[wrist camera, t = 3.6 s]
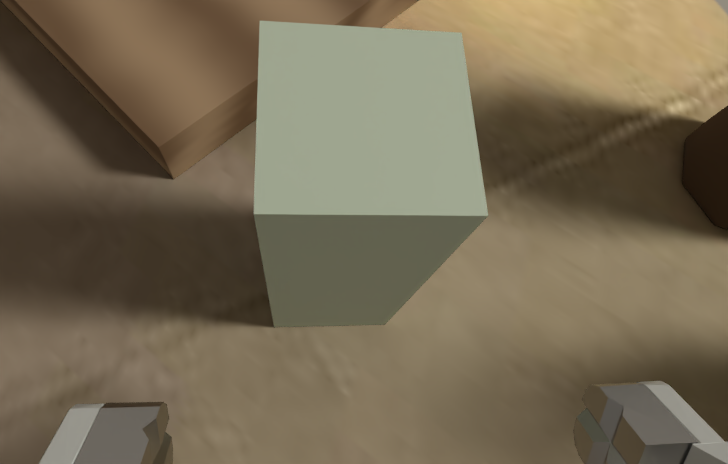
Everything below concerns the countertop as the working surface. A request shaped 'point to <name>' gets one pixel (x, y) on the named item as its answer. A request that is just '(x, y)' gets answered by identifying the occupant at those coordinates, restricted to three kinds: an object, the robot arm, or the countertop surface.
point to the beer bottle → (709, 167)
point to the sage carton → (360, 167)
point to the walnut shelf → (178, 60)
